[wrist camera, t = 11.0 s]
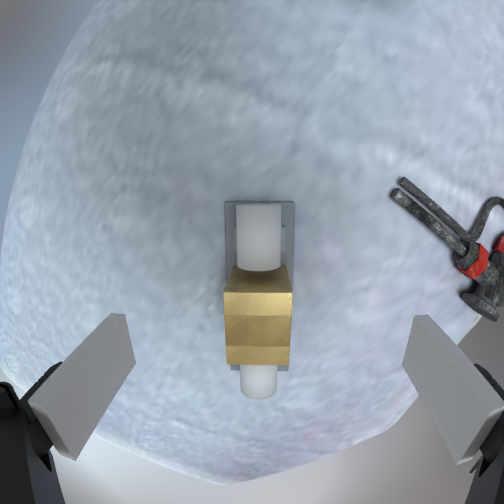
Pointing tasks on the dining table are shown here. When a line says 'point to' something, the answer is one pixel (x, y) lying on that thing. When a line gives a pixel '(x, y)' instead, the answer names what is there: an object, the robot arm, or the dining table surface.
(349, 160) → the dining table surface
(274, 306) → the cardboard box
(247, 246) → the shaft bed
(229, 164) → the dining table surface
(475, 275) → the valve
